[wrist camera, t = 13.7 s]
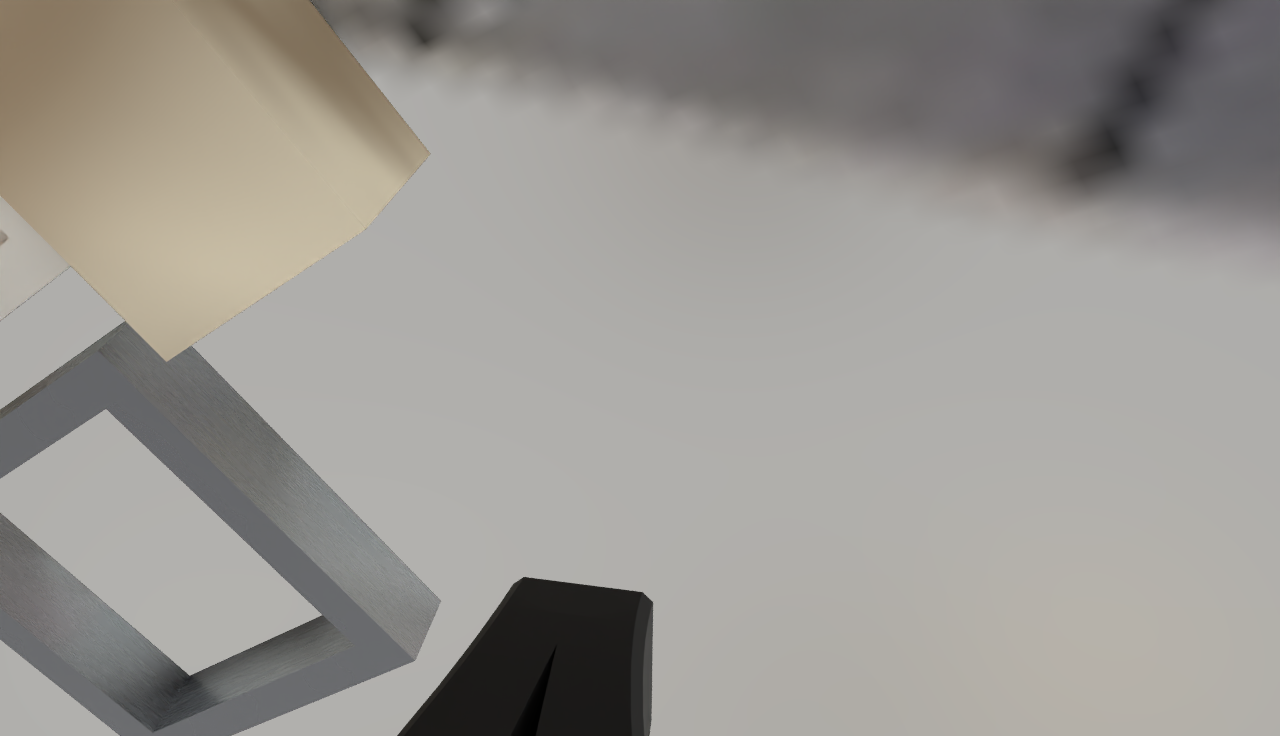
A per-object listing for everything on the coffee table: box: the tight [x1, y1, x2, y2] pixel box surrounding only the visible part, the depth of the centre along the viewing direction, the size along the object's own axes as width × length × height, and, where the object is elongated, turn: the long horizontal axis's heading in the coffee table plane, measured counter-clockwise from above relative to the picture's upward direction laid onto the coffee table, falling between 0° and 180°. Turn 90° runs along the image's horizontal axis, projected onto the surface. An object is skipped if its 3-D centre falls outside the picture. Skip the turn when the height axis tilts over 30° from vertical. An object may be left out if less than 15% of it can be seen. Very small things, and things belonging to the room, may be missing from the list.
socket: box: [0, 321, 441, 736], centre depth 20 cm, size 8×8×2 cm
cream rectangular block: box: [0, 0, 430, 362], centre depth 14 cm, size 7×4×2 cm, turn 35°
